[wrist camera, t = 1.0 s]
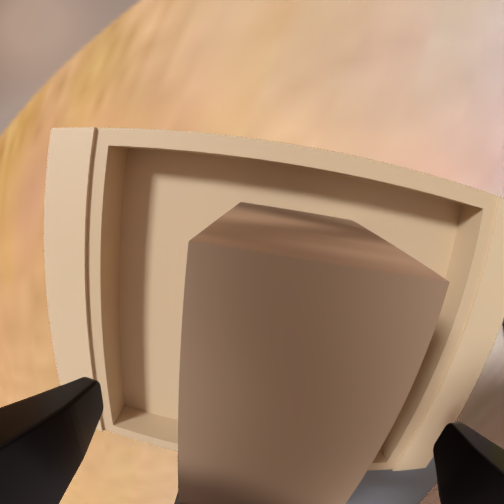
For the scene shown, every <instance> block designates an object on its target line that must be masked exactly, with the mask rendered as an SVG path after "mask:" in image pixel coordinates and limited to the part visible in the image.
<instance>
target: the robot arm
mask: <svg viewBox="0 0 504 504" xmlns="http://www.w3.org/2000/svg"><path fill="white" fill-rule="evenodd" d="M103 408H104V405H103V398H102V391H101V385H100V383H99V382H98V381H97V380H94V379H91V378H88V377H82V378H79V379H77V380H74V381H72V382H69V383H66V384H64V385H61V386H59V387H56V388H53V389H51V390H48V391H45V392H43V393H40V394H37V395H35V396H32V397H29V398H26V399H24V400H21V401H18V402H15V403H12V404H10V405H7V406H4V407H1V408H0V504H59V502H60V501H61V499H62V497H63V495H64V493H65V491H66V489H67V488H68V486H69V484H70V482H71V480H72V479H73V477H74V475H75V473H76V471H77V470H78V468H79V466H80V464H81V462H82V460H83V458H84V456H85V454H86V452H87V449H88V447H89V444H90V442H91V439H92V437H93V434H94V432H95V430H96V427H97V425H98V422H99V420H100V418H101V415H102V413H103ZM433 455H434V461H435V468H436V475H437V483H438V491H439V497H440V502H441V504H504V450H503V449H502V448H500V447H499V446H497V445H496V444H494V443H492V442H491V441H489V440H488V439H486V438H485V437H483V436H482V435H480V434H478V433H477V432H475V431H474V430H472V429H471V428H469V427H468V426H466V425H465V424H463V423H461V422H454V423H448V424H447V425H446V426H445V427H444V429H443V431H442V432H441V434H440V436H439V437H438V439H437V440H436V442H435V444H434V447H433Z"/></svg>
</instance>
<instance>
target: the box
mask: <svg viewBox="0 0 504 504" xmlns="http://www.w3.org/2000/svg"><path fill="white" fill-rule="evenodd" d="M449 283H450V282H449V281H447V280H446V279H445V278H443V277H442V276H440V275H439V274H437V273H436V272H434V271H433V270H431V269H430V268H428V267H427V266H425V265H424V264H422V263H421V262H419V261H417V260H416V259H414V258H413V257H411V256H410V255H408V254H407V253H405V252H403V251H402V250H400V249H399V248H397V247H396V246H394V245H392V244H391V243H389V242H388V241H386V240H384V239H383V238H381V237H379V236H378V235H376V234H375V233H373V232H371V231H370V230H368V229H366V228H365V227H363V226H361V225H360V224H358V223H356V222H354V221H353V220H349V219H343V218H337V217H332V216H326V215H320V214H314V213H309V212H303V211H296V210H290V209H284V208H278V207H271V206H265V205H258V204H252V203H245V202H240V203H239V204H237V205H236V206H235V207H233V208H232V209H231V210H229V211H228V212H226V213H225V214H224V215H222V216H221V217H220V218H218V219H217V220H216V221H214V222H213V223H212V224H210V225H209V226H208V227H207V228H205V229H204V230H203V231H201V232H200V233H199V234H197V235H196V236H195V237H193V238H192V239H191V240H189V242H188V252H187V263H186V274H185V286H184V299H183V314H182V329H181V347H180V369H179V400H178V494H177V497H176V500H175V503H174V504H346V502H347V501H348V499H349V498H350V496H351V495H352V493H353V492H354V491H355V489H356V488H357V486H358V484H359V483H360V481H361V480H362V478H363V477H364V475H365V473H366V472H367V470H368V469H369V467H370V465H371V464H372V462H373V460H374V459H375V457H376V455H377V454H378V452H379V450H380V448H381V447H382V445H383V443H384V441H385V439H386V438H387V436H388V434H389V432H390V430H391V428H392V426H393V424H394V422H395V421H396V419H397V417H398V415H399V413H400V411H401V408H402V406H403V404H404V402H405V400H406V398H407V396H408V394H409V392H410V389H411V387H412V385H413V383H414V380H415V378H416V376H417V373H418V371H419V369H420V366H421V364H422V361H423V359H424V356H425V354H426V351H427V349H428V346H429V343H430V341H431V338H432V335H433V333H434V330H435V327H436V324H437V321H438V318H439V315H440V312H441V309H442V306H443V303H444V300H445V296H446V293H447V290H448V286H449Z"/></svg>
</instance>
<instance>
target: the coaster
mask: <svg viewBox="0 0 504 504" xmlns="http://www.w3.org/2000/svg"><path fill="white" fill-rule="evenodd" d="M436 482H437V475H436V468H435V461H434V456H433V458H432V459H431V461H430V462H429V464H428V465H427V466H426V468H420V469H411V470H401V471H393V470H392V469H387V470H367V472H366V473H365V475H364V477H363V478H362V480H361V481H360V483H359V484H358V486H357V488H356V489H355V491H354V492H353V493H352V495H351V496H350V498H349V499H348V501H347V502H346V504H419V503H420V501H421V500H422V499H423V498H424V497H425V496H426V495H427V493H428V492H429V491H430V490H431V489H432V487H433V486H434V485H435V484H436Z"/></svg>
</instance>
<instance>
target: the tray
mask: <svg viewBox="0 0 504 504" xmlns="http://www.w3.org/2000/svg"><path fill="white" fill-rule="evenodd" d="M240 202H245V203H252V204H258V205H265V206H271V207H278V208H284V209H290V210H296V211H303V212H309V213H314V214H320V215H326V216H332V217H337V218H343V219H349V220H353V221H354V222H356V223H358V224H360V225H361V226H363V227H365V228H366V229H368V230H370V231H371V232H373V233H375V234H376V235H378V236H379V237H381V238H383V239H384V240H386V241H388V242H389V243H391V244H392V245H394V246H396V247H397V248H399V249H400V250H402V251H403V252H405V253H407V254H408V255H410V256H411V257H413V258H414V259H416V260H417V261H419V262H421V263H422V264H424V265H425V266H427V267H428V268H430V269H431V270H433V271H434V272H436V273H437V274H439V275H440V276H442V277H443V278H445V279H446V280H447V281H449V282H450V283H449V286H448V290H447V293H446V296H445V300H444V303H443V306H442V309H441V312H440V315H439V318H438V321H437V324H436V327H435V330H434V333H433V335H432V338H431V341H430V343H429V346H428V349H427V351H426V354H425V356H424V359H423V361H422V364H421V366H420V369H419V371H418V373H417V376H416V378H415V380H414V383H413V385H412V387H411V389H410V392H409V394H408V396H407V398H406V400H405V402H404V404H403V406H402V408H401V411H400V413H399V415H398V417H397V419H396V421H395V422H394V424H393V426H392V428H391V430H390V432H389V434H388V436H387V438H386V439H385V441H384V443H383V445H382V447H381V448H380V450H379V452H378V454H377V455H376V457H375V459H374V460H373V462H372V464H371V465H370V467H369V469H368V470H387V469H392V470H393V471H401V470H411V469H420V468H426V466H427V465H428V464H429V462H430V461H431V459H432V458H433V456H434V455H433V447H434V444H435V442H436V440H437V439H438V437H439V436H440V434H441V432H442V431H443V429H444V427H445V426H446V425H447V424H448V423H454V422H456V420H457V418H458V416H459V415H460V413H461V411H462V409H463V408H464V406H465V404H466V402H467V400H468V398H469V396H470V395H471V393H472V391H473V389H474V387H475V385H476V383H477V381H478V379H479V376H480V374H481V372H482V370H483V368H484V366H485V364H486V361H487V359H488V357H489V354H490V352H491V350H492V347H493V345H494V343H495V340H496V338H497V335H498V332H499V330H500V327H501V325H502V322H503V319H504V198H502V197H499V196H495V195H493V194H490V193H487V192H484V191H481V190H478V189H475V188H472V187H469V186H466V185H463V184H460V183H457V182H453V181H450V180H447V179H444V178H440V177H437V176H433V175H430V174H426V173H423V172H419V171H415V170H412V169H408V168H404V167H400V166H396V165H392V164H388V163H384V162H380V161H376V160H371V159H367V158H362V157H358V156H353V155H348V154H344V153H339V152H334V151H329V150H323V149H318V148H312V147H307V146H301V145H295V144H289V143H282V142H276V141H269V140H262V139H254V138H247V137H239V136H230V135H221V134H211V133H200V132H188V131H174V130H158V129H136V128H95V127H77V128H51V134H50V142H49V150H48V160H47V170H46V184H45V202H44V261H45V280H46V293H47V304H48V314H49V322H50V330H51V337H52V344H53V350H54V356H55V361H56V367H57V372H58V377H59V382H60V386H61V385H64V384H66V383H69V382H72V381H74V380H77V379H79V378H82V377H88V378H91V379H94V380H97V381H98V382H99V383H100V385H101V391H102V398H103V405H104V408H103V413H102V415H101V418H100V420H99V422H98V425H97V427H96V429H97V430H99V431H103V430H106V431H109V432H112V433H115V434H118V435H121V436H124V437H127V438H130V439H133V440H137V441H140V442H143V443H147V444H150V445H154V446H158V447H161V448H165V449H169V450H173V451H177V452H178V400H179V369H180V347H181V329H182V314H183V299H184V286H185V274H186V263H187V252H188V242H189V240H191V239H192V238H193V237H195V236H196V235H197V234H199V233H200V232H201V231H203V230H204V229H205V228H207V227H208V226H209V225H210V224H212V223H213V222H214V221H216V220H217V219H218V218H220V217H221V216H222V215H224V214H225V213H226V212H228V211H229V210H231V209H232V208H233V207H235V206H236V205H237V204H239V203H240Z"/></svg>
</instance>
